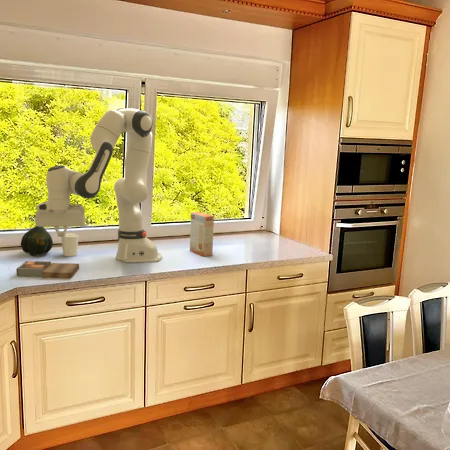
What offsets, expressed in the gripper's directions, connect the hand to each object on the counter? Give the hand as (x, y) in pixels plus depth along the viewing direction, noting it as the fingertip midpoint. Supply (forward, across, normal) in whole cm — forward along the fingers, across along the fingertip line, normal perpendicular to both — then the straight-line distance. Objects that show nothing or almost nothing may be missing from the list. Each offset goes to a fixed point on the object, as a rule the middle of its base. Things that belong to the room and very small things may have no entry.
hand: (61, 236), depth 206 cm
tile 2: (+15, +11, +1) cm, 19 cm away
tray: (+16, +12, +1) cm, 20 cm away
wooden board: (+16, +1, +1) cm, 16 cm away
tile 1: (+13, +13, +1) cm, 19 cm away
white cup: (+17, +5, -30) cm, 35 cm away
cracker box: (+20, -60, -39) cm, 74 cm away
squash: (+16, +21, -30) cm, 40 cm away
